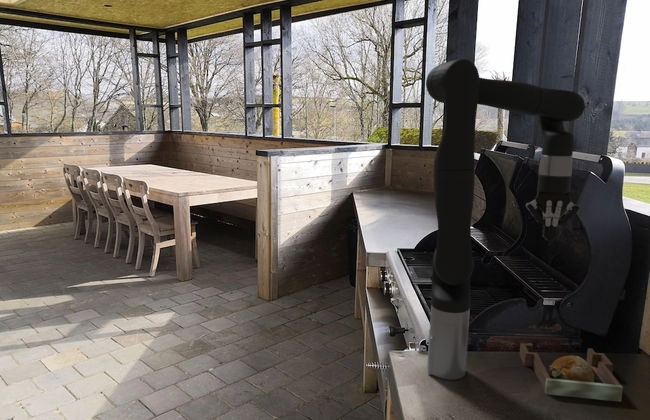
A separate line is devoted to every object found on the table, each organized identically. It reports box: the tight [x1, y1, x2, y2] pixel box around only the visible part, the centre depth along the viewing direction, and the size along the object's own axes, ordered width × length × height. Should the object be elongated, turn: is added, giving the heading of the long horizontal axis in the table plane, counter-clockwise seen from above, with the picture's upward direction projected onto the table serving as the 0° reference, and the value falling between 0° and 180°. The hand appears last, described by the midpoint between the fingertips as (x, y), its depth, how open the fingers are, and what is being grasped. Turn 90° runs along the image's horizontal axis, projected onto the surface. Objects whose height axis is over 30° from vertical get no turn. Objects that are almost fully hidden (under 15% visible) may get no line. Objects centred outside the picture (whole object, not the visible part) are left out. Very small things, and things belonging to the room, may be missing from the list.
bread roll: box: [548, 355, 596, 383], centre depth 118 cm, size 10×10×8 cm
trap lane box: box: [519, 342, 624, 403], centre depth 120 cm, size 20×20×4 cm
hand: (548, 239), depth 126 cm, fingers closed
